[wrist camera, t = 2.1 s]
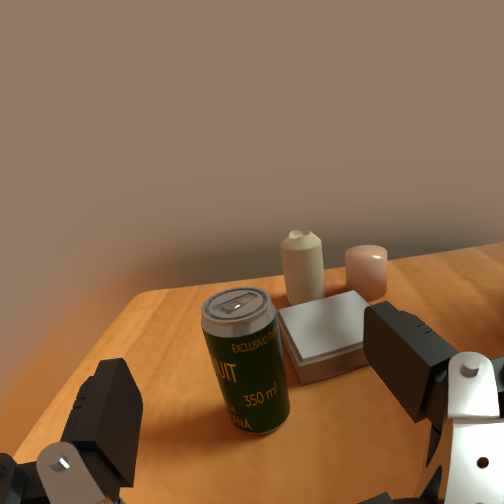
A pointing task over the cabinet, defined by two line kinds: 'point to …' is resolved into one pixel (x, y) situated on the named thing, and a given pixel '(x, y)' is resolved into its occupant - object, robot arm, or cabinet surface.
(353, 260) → the peach rounded cylinder
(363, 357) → the podium
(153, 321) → the cabinet surface
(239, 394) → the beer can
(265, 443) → the cabinet surface
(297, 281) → the candle
